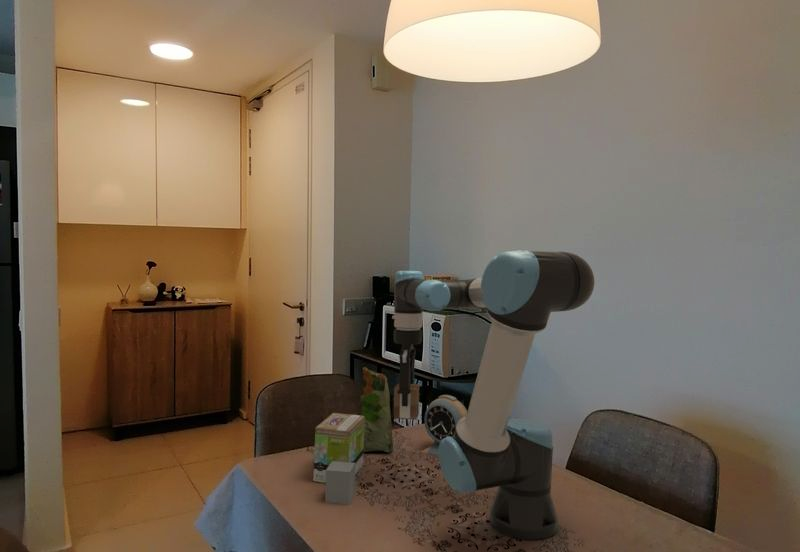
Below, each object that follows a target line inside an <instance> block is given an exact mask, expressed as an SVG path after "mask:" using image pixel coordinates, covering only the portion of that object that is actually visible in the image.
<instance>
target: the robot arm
mask: <svg viewBox="0 0 800 552" xmlns="http://www.w3.org/2000/svg"><path fill="white" fill-rule="evenodd" d="M393 287H394V288H393V290H394V291H393V292H394V293H393V294H394V299H393V300H394V307H393V308H394V310H393V312H394V315H392V317H391V319H392V320H394V321H393V327H394V329H393V342H394V343H395V344H398V345H402V346H401V349H400V350H399V355H398V357H399V380H398V381H399V383H398V384H399V391H397V393H398V394H400V418H409V419H408V420H410V400H411V393H410V384H416V383H415V361H416V353H417V352H416V348H415V347H414V345H420V344H422V341H423V330H422V329H421V328H422V327H423V316H424V315H423V313H424V312H423V310H425V311H428V312H432V311H435V312H436V311H437V312H439V311H441V310H455V309H457V310H458V309H459V310H460V309H484V308H487V309H486V314H487V315H488V317H489V318H490V320H491V324H490V328H489V331H488V335H487V339H486V342H485V346H484V350H483V354H482V357H481V361H480V364H479V368H478V372H477V376H476V380H475V383H474V387H473V389H472V394H471V397H470V401H469V406H468V409H467V411H468V412H467V416H466V417H463V418H462V419H460V420H459V421H458V423H457V425H456V429H455V432H454V435H453V436H452V437H450V436H448V437H446V438H444V439H442V440H441V442H440V444H439V451H438V454H439V458H438V460H439V461H438V462H439V466H440V470H441V473H442V474H443V478H444V479H445V481H446V483H447V484H448V486H449V487H450V488H451V489H452V490H453V491H454V492H456V493H459V494H464V493H476V492H479V491H484V490H488V489H493V488H497V491H496V493H495V495H494V498H493V501H492V504H491V506H490V510H489V522H490V525H491V526H492V527H493V528H494V529H495V530H496V531H498V532H500V533H501V534H503V535H506V536H509V537H511V538H512V537H513V538H515V539H520V540H521V539H522V540H530V541H532V540H533V541H535V540H544V539H547V538H550V537H552V536H554V535H556V533H557V531H558V529H559V528H558V527H559V526H558V525H559V518H558V514H557V513H558V512H557V510H556V507H555V503H554V499H553V496H552V474H553V472H552V470H553V468H552V467H553V454H554V446H553V433H552V430H550V428H548V427H547V426H545V425H543V424H540V423H538V422H534V421H530V420H526V419H519V418H510V417H511V415H512V412H513V408H514V405H515V401H516V398H517V395H518V392H519V391H518V390H520V389H519V388H520V385H521V381H522V379H523V377H524V376H523V375H524V373H525V369H526V365H527V362H528V359H529V355H530V353H531V349H532V346H533V342H534V338H535V336H536V334H538V333H540V332H542V331H544V330H545V329H546V328H547V326H548V325H547V324H548V321H549V318H550V315H551V313H555V312H556V313H557V312H567V311H572V310H573V311H574V310H576V309H577V308H580V307H581V306H583V305H584V304H586V302H587V301H589V299H590V298H591V296H592V294H593V292H594V289H595V275H594V272H593V270H592V268H591V266H590V265H589V263H588V262H587V261H586V260H585V259H584V258H582V257H581V256H579V255H578V254H576V253H575V254H574V253H573V252H568V251H540V250H539V251H538V250H537V251H536V250H535V251H534V250H526V249H518V250H513V251H512V250H511V251H509V250H508V251H503V252H500V253H499V254H498V255H495V256H493V257H492V259H490V261H489V262H488V264H487V265H486V266H485V269H484V270H483V275H482V277H475V278H470V279H469V278H468V279H424V274H423V272H422V271H420V270H398V271H396V273H395V275H394V283H393Z"/></svg>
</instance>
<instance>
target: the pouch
mask: <svg viewBox="0 0 800 552" xmlns="http://www.w3.org/2000/svg"><path fill="white" fill-rule="evenodd" d="M362 370H363V371H362V373H363V377H362V379H363V380H362V381H363V385H361V390H363V394H361V395H360V403H361V411H360V413H361V416H365V427H364V452H363V453H368V452H384V453H392V451H394V441H393V427H392V426H393V425H392V419H391V417H392V416H391V414H392V413H391V407H390V401H391V400H390V399H391V396H390V395H391V394H390V389H389V385H388V378H387V376H386V375H385V374H384V373H377V372H375V371H372V370H371V369H370V370H369V369H368V368H367V367H366V366H364V367H363V368H362Z"/></svg>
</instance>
